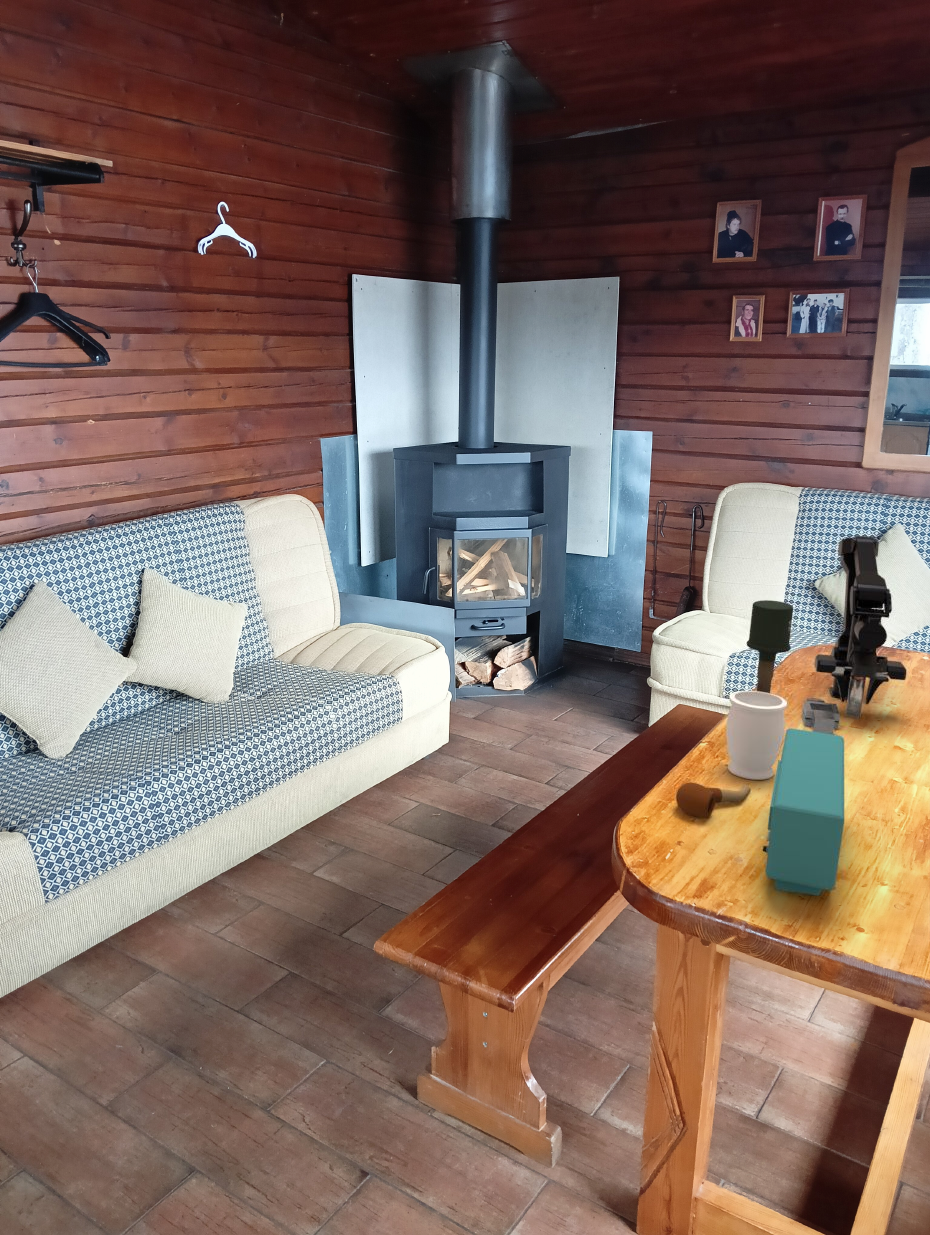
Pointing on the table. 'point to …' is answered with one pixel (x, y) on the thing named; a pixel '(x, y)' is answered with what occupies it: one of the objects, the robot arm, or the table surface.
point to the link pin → (855, 696)
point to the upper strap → (821, 715)
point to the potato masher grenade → (769, 637)
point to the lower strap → (809, 720)
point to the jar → (754, 733)
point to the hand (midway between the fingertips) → (854, 702)
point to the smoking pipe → (705, 798)
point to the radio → (806, 813)
